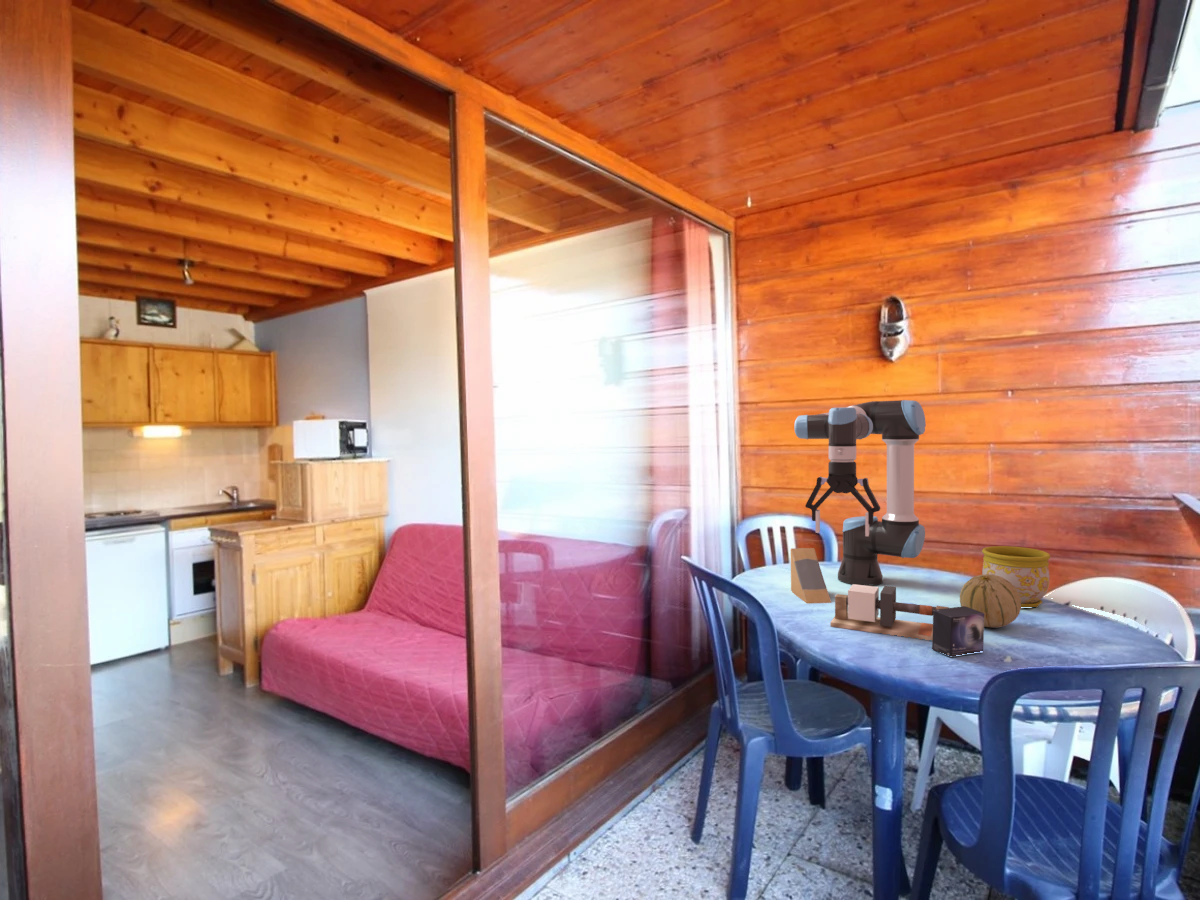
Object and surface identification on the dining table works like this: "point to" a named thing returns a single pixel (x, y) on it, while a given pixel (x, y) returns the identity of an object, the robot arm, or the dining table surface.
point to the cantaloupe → (992, 599)
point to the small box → (958, 630)
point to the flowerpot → (1020, 570)
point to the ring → (887, 606)
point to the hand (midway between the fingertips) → (842, 534)
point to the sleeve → (863, 602)
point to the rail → (897, 629)
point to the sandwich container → (807, 576)
